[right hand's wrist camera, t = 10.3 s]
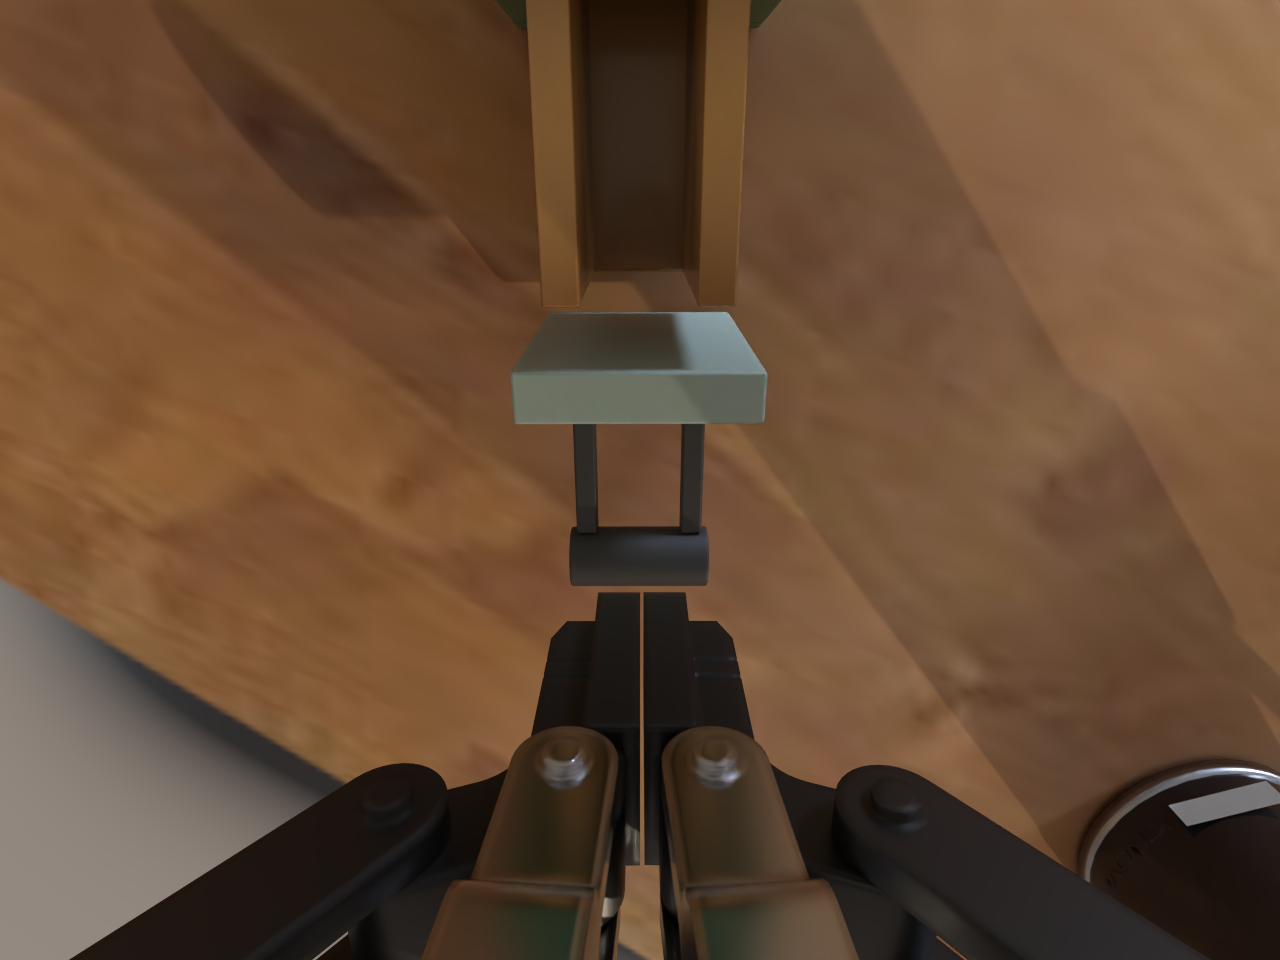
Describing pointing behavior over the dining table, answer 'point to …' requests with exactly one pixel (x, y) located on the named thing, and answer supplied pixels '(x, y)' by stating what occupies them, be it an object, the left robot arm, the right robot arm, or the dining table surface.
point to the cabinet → (516, 10)
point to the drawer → (638, 250)
